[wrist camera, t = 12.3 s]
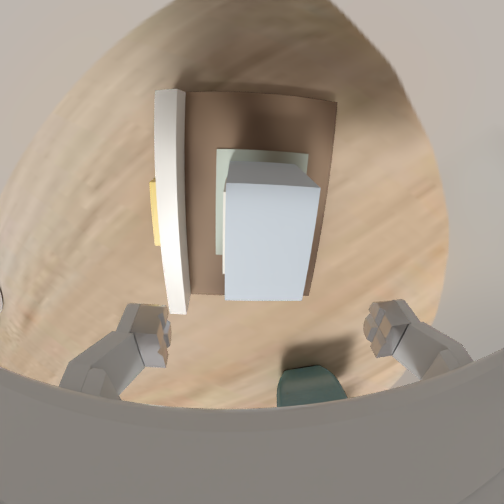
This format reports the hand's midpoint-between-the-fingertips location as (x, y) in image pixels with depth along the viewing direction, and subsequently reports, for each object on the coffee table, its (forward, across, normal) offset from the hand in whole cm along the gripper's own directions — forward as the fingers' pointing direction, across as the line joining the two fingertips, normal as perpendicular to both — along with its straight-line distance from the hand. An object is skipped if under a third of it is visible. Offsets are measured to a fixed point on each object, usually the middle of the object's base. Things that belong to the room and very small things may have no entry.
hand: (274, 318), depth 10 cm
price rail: (+13, +6, 0) cm, 15 cm away
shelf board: (+15, 0, 0) cm, 15 cm away
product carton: (+13, -1, 0) cm, 13 cm away
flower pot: (+15, -9, +25) cm, 30 cm away
